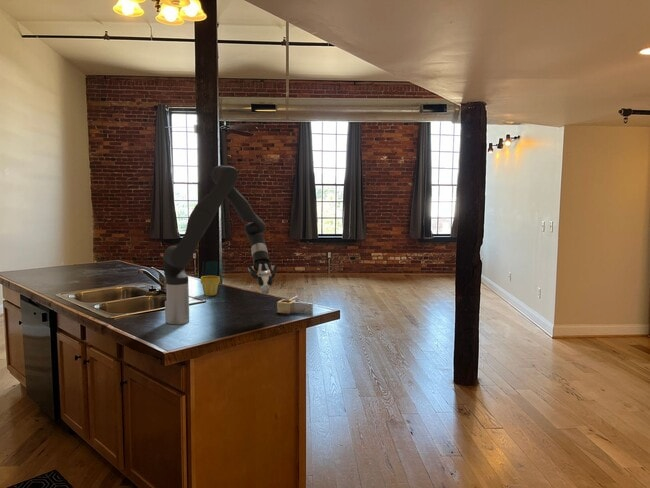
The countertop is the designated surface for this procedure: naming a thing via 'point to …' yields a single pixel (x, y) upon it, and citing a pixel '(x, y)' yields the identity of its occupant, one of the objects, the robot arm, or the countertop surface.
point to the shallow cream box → (294, 306)
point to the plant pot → (210, 284)
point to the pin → (265, 281)
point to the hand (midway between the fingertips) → (265, 284)
